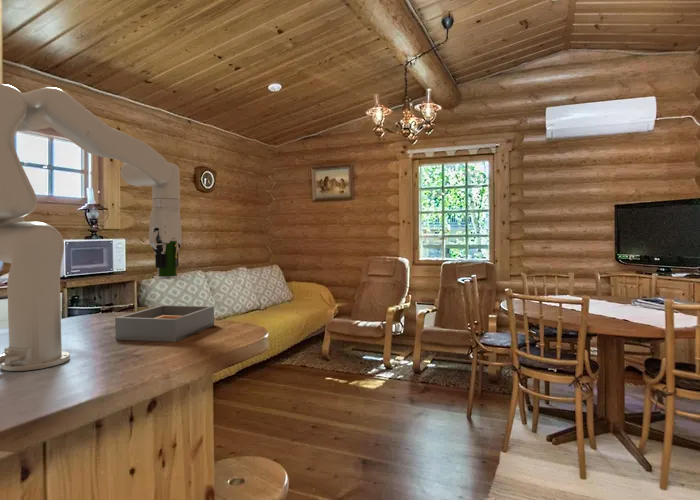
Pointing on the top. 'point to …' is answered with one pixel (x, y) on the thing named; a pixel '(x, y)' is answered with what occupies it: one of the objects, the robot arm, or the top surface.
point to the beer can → (169, 261)
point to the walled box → (164, 323)
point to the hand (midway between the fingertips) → (167, 266)
